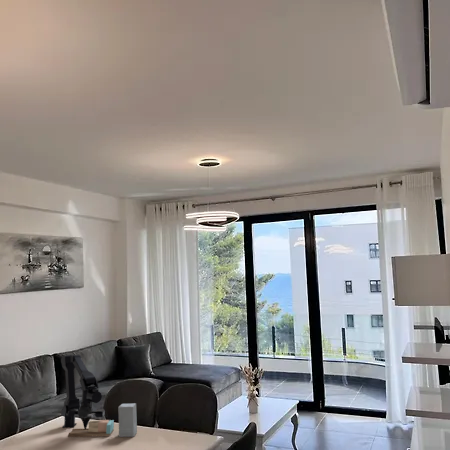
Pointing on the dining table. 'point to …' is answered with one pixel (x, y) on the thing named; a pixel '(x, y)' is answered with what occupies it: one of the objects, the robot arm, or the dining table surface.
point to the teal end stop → (110, 426)
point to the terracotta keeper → (102, 425)
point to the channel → (86, 433)
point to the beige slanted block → (93, 426)
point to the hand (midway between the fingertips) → (85, 429)
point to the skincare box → (127, 420)
